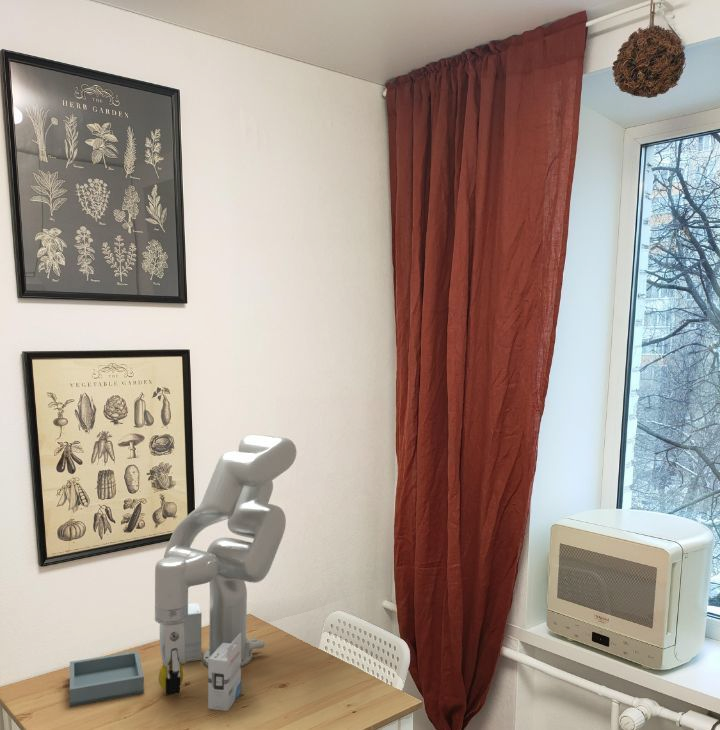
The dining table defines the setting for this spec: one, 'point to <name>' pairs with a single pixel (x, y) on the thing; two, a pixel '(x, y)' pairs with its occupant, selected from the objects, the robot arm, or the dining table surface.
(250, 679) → the dining table surface
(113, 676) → the walled box
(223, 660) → the ink box
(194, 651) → the supplement box
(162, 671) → the lemon
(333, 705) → the dining table surface
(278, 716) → the dining table surface
